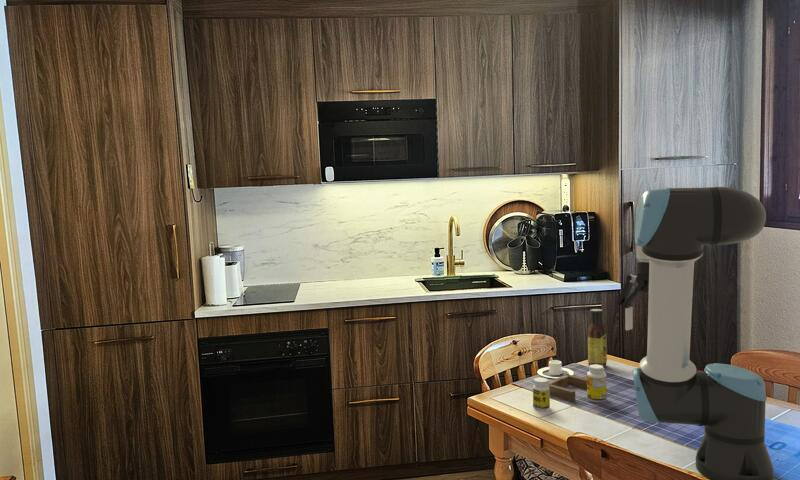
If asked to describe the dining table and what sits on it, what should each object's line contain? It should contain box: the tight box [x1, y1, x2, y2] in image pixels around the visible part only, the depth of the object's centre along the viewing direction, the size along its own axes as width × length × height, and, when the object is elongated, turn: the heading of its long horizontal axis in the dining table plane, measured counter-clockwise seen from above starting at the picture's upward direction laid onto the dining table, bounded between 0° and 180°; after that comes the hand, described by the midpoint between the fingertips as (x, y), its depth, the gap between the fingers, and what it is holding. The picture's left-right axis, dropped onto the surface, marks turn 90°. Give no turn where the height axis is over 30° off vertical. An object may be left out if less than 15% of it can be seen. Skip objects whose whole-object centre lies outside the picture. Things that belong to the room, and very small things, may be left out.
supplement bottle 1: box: [532, 377, 551, 411], centre depth 176 cm, size 5×5×8 cm
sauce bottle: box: [587, 308, 608, 369], centre depth 211 cm, size 7×6×20 cm
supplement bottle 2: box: [586, 364, 608, 403], centre depth 181 cm, size 6×6×10 cm
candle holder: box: [536, 359, 575, 379], centre depth 206 cm, size 12×12×4 cm
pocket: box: [548, 373, 587, 403], centre depth 188 cm, size 13×10×3 cm
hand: (650, 333), depth 174 cm, fingers open, 13 cm apart
